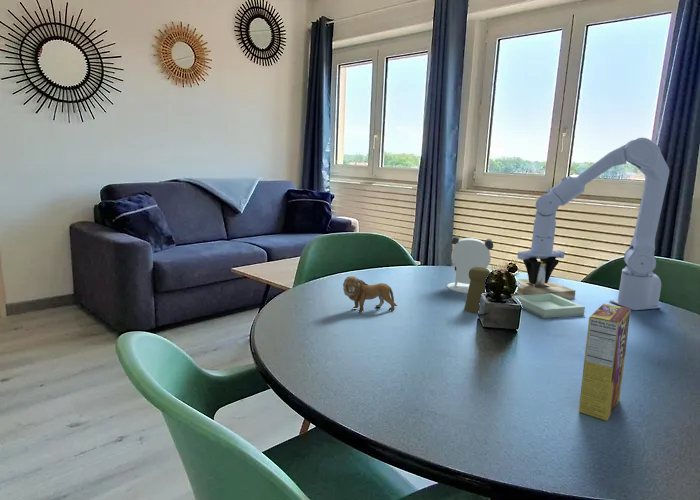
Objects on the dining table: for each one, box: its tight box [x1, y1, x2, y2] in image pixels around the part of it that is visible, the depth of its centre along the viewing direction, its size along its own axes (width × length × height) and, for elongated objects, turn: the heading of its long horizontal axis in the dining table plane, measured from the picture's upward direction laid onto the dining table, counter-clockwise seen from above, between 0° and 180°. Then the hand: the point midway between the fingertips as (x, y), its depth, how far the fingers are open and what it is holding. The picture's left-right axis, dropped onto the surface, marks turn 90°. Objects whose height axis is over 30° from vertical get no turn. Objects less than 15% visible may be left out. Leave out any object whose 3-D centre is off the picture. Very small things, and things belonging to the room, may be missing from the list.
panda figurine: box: [446, 235, 494, 294], centre depth 137 cm, size 12×11×15 cm
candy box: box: [578, 303, 632, 422], centre depth 71 cm, size 9×4×15 cm, turn 140°
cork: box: [463, 267, 491, 315], centre depth 117 cm, size 6×6×11 cm
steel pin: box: [531, 260, 547, 288], centre depth 135 cm, size 4×4×9 cm
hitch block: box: [516, 278, 576, 300], centre depth 136 cm, size 14×14×2 cm
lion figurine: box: [342, 276, 398, 312], centre depth 114 cm, size 15×5×9 cm, turn 114°
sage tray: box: [515, 293, 586, 319], centre depth 120 cm, size 12×12×2 cm
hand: (538, 282), depth 135 cm, fingers closed on steel pin, 3 cm apart
